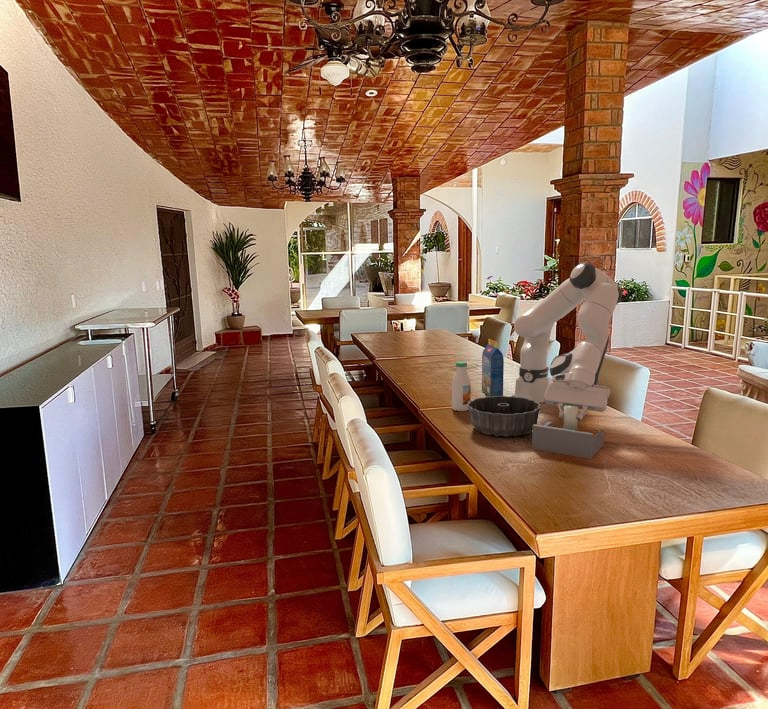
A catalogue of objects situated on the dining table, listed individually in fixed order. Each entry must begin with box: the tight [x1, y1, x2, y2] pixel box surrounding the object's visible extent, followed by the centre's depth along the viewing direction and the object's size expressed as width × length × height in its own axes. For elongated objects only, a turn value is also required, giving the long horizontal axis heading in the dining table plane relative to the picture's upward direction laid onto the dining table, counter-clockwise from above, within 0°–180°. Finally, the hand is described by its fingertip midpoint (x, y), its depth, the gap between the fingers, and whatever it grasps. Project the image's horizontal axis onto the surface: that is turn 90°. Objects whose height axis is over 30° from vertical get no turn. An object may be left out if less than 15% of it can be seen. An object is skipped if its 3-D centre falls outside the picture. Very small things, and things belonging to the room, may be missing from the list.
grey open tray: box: [531, 421, 605, 460], centre depth 187 cm, size 16×19×8 cm
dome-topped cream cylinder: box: [562, 405, 579, 431], centre depth 186 cm, size 4×4×8 cm
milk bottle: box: [451, 360, 472, 412], centre depth 233 cm, size 8×8×20 cm
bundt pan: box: [467, 395, 542, 438], centre depth 206 cm, size 26×26×10 cm
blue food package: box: [481, 338, 505, 397], centre depth 257 cm, size 6×12×25 cm, turn 9°
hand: (570, 418), depth 186 cm, fingers closed on dome-topped cream cylinder, 4 cm apart
